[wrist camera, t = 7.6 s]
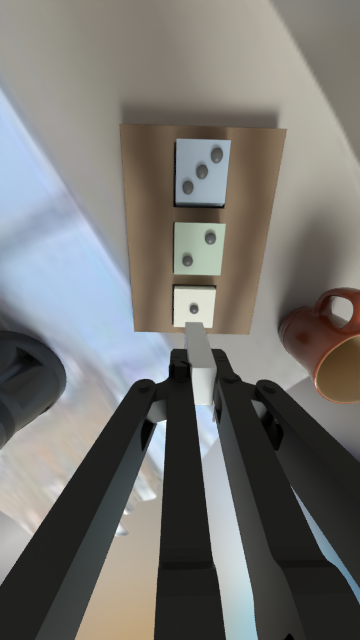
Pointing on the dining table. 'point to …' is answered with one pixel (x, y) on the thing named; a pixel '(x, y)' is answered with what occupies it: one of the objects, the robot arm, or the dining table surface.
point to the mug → (327, 345)
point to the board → (197, 221)
